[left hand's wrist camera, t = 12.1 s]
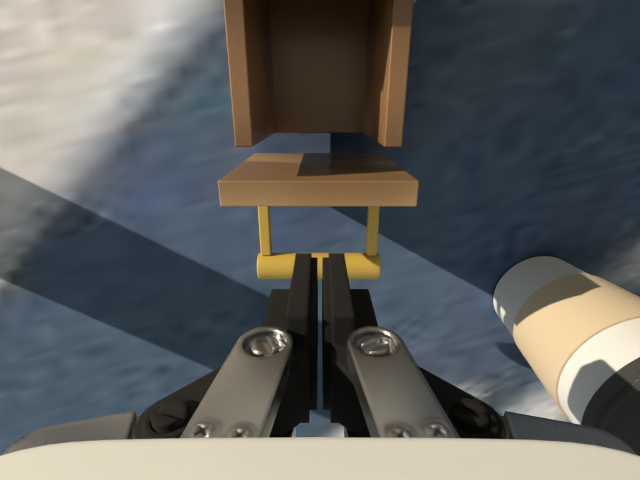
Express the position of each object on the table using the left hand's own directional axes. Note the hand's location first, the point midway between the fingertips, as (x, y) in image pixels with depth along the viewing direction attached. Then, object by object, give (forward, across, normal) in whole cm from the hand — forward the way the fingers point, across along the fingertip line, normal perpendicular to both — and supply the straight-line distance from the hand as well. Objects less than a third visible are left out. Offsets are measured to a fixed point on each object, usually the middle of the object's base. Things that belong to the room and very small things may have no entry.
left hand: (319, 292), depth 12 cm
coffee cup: (+16, +18, -9) cm, 26 cm away
